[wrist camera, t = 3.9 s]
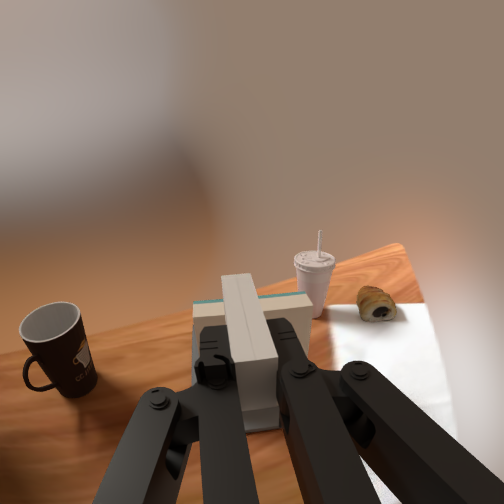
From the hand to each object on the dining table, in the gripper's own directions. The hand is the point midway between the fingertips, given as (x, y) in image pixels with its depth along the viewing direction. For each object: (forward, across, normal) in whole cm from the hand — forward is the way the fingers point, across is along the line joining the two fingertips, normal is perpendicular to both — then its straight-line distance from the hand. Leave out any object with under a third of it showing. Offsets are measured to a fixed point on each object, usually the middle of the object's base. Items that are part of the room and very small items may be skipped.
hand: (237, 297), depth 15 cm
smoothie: (+25, +14, -19) cm, 34 cm away
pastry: (+23, +24, -19) cm, 39 cm away
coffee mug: (+11, -22, -19) cm, 31 cm away
